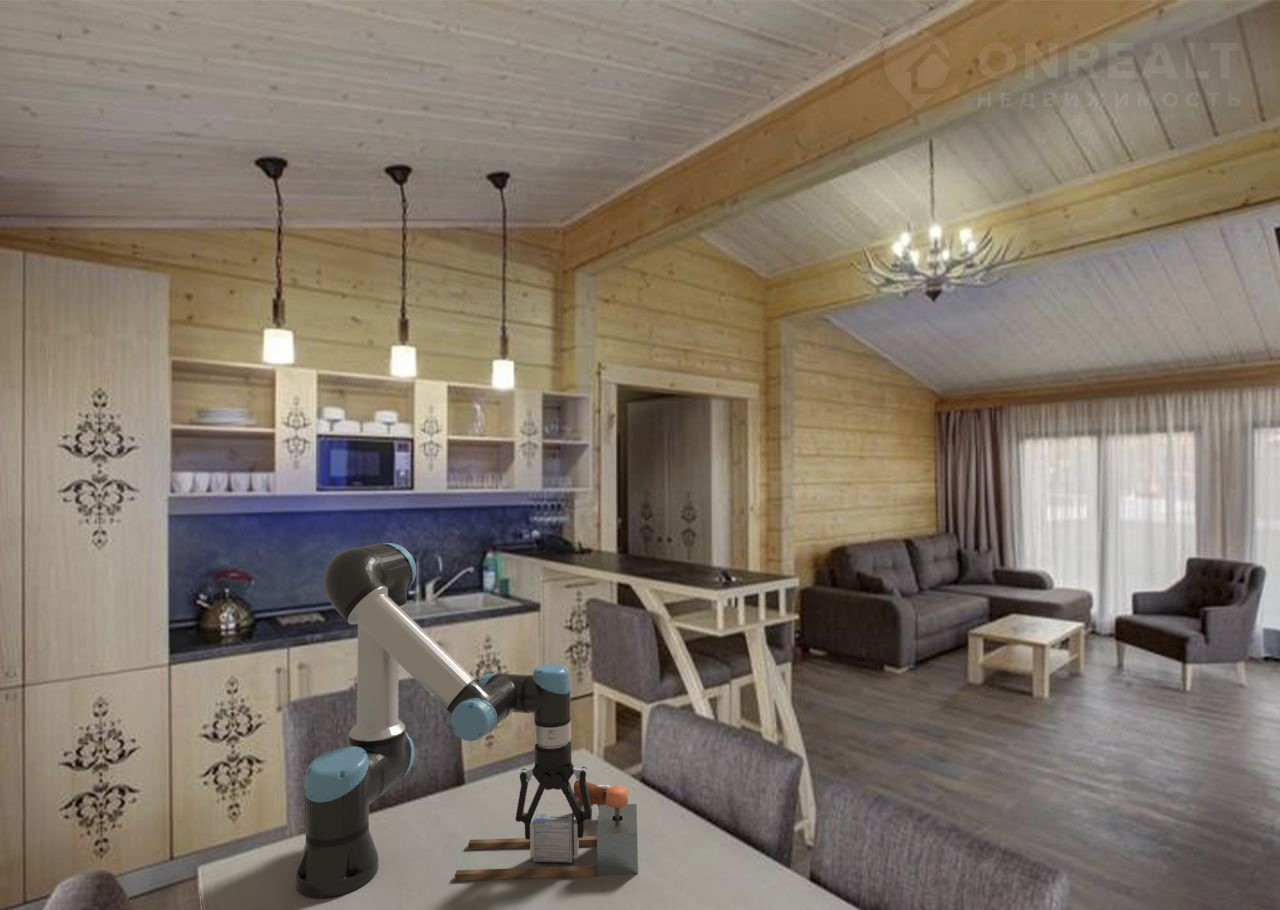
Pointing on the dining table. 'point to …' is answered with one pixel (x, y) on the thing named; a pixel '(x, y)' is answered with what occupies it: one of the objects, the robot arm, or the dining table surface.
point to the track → (524, 872)
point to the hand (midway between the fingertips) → (554, 853)
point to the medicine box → (553, 836)
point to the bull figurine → (592, 794)
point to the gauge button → (617, 799)
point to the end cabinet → (617, 840)
